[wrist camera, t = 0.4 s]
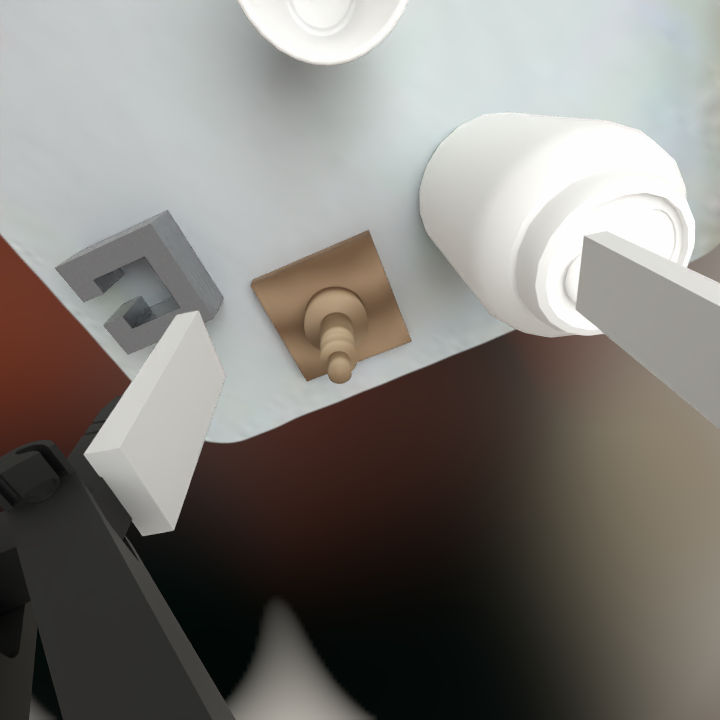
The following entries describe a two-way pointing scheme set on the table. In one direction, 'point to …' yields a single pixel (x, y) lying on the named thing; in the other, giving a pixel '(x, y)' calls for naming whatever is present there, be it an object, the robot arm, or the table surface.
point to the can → (547, 209)
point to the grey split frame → (169, 260)
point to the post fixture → (333, 308)
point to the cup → (324, 26)
